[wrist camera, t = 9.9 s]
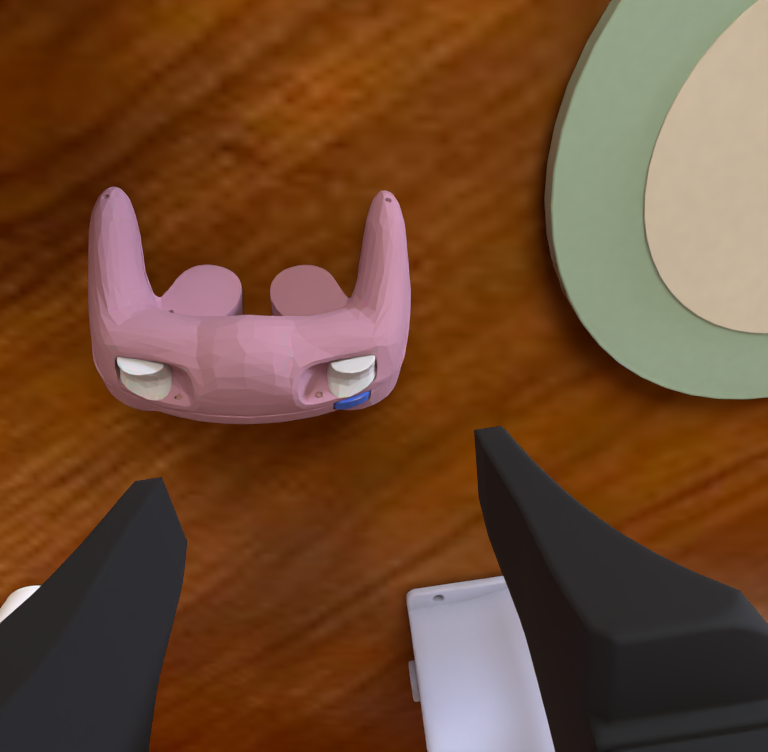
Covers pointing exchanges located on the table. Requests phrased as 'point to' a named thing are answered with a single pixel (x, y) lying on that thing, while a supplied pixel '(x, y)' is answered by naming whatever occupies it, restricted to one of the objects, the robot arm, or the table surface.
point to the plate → (668, 193)
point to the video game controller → (247, 328)
